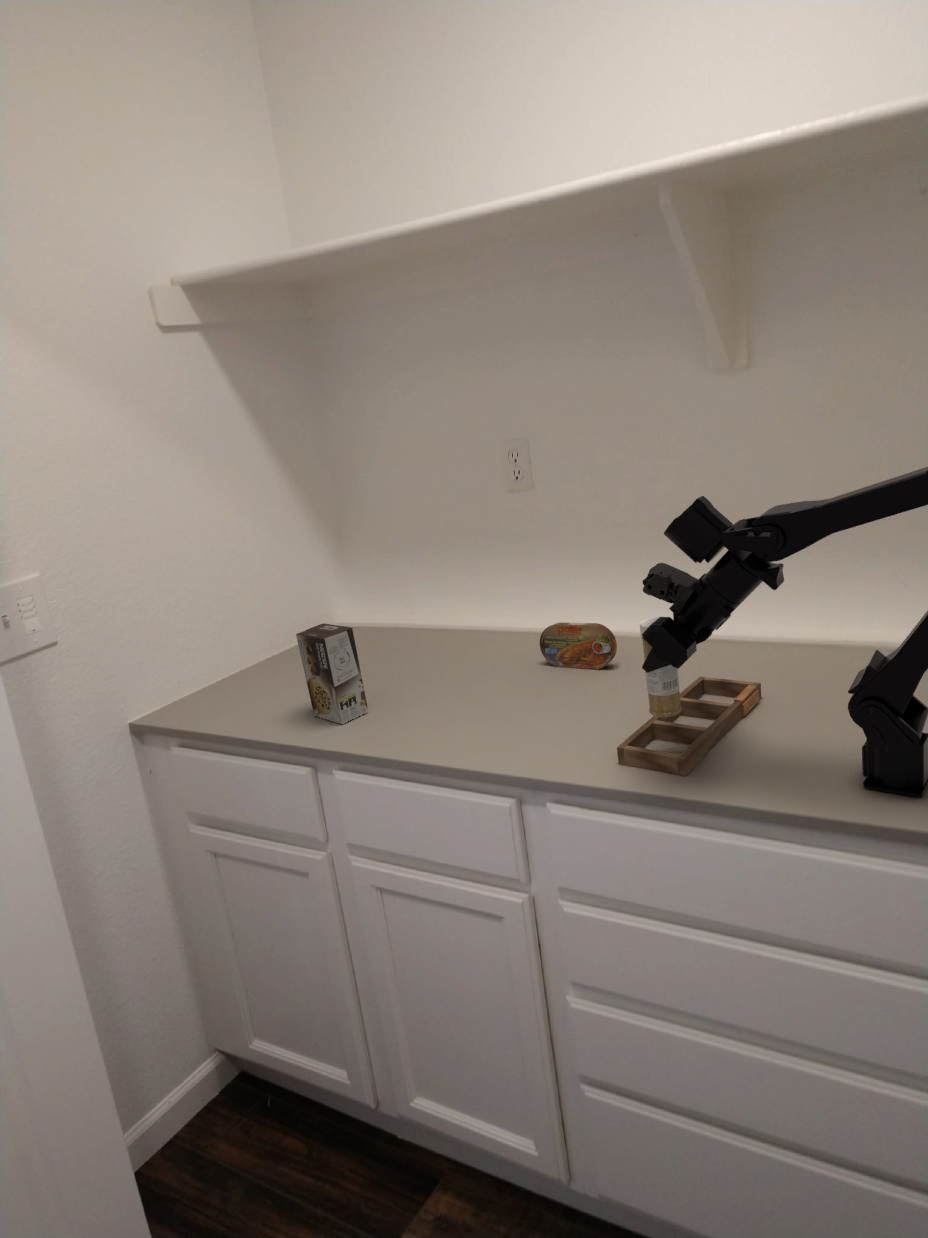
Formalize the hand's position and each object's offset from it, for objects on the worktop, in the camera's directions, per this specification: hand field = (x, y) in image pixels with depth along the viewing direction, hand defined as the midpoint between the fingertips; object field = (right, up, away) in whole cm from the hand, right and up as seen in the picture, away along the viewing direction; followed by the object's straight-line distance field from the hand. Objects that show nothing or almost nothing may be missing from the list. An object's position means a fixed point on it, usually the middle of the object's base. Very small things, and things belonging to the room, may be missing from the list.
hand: (651, 663), depth 117 cm
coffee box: (-48, -11, +37) cm, 61 cm away
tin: (-4, -3, +42) cm, 43 cm away
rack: (+8, -10, +9) cm, 16 cm away
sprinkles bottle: (+2, -7, +1) cm, 7 cm away
